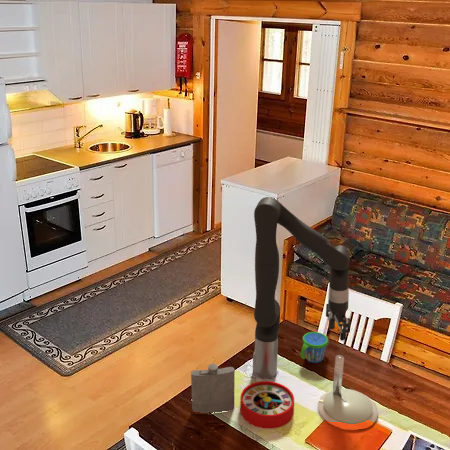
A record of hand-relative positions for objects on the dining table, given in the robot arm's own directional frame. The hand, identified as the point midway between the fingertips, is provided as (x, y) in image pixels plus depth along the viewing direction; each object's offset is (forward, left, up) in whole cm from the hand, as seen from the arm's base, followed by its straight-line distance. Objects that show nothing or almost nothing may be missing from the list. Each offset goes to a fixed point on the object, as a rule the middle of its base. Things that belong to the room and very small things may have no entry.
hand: (337, 334), depth 222 cm
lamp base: (+9, -15, -22) cm, 28 cm away
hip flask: (-37, -35, -22) cm, 56 cm away
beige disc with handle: (+9, -15, -21) cm, 27 cm away
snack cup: (-11, +12, -22) cm, 28 cm away
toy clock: (-19, -27, -23) cm, 40 cm away
